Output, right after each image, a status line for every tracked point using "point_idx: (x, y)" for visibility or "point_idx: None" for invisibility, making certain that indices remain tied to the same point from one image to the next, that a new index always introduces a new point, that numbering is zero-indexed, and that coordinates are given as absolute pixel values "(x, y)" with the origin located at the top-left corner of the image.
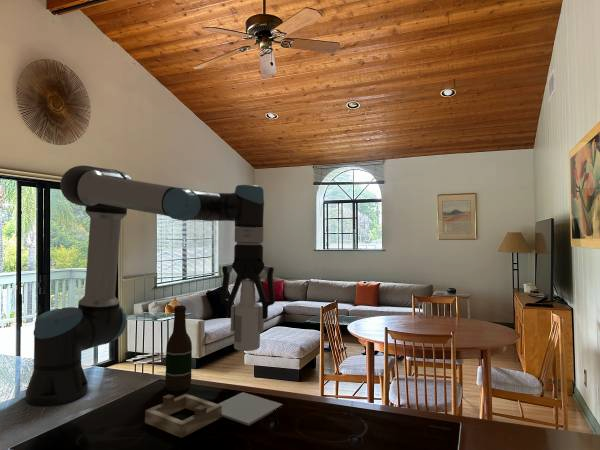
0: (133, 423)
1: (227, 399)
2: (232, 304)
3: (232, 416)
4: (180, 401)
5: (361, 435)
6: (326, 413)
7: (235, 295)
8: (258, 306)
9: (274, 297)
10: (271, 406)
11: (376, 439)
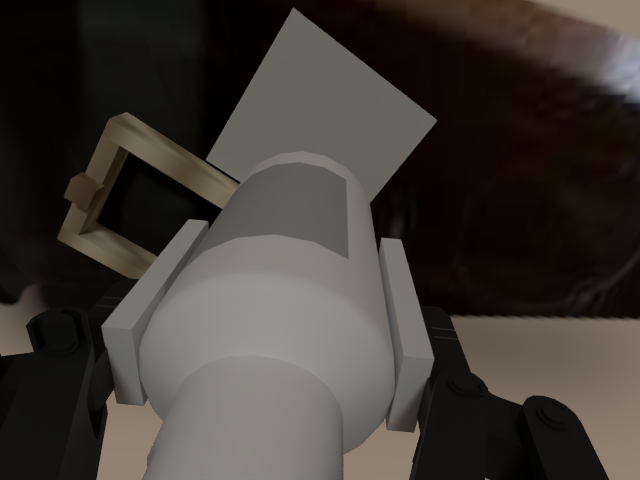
0: (51, 227)
1: (250, 84)
2: (104, 370)
3: None
4: (116, 160)
5: (608, 285)
6: (565, 168)
7: (81, 468)
8: (376, 426)
9: (595, 472)
10: (399, 139)
11: (635, 301)
